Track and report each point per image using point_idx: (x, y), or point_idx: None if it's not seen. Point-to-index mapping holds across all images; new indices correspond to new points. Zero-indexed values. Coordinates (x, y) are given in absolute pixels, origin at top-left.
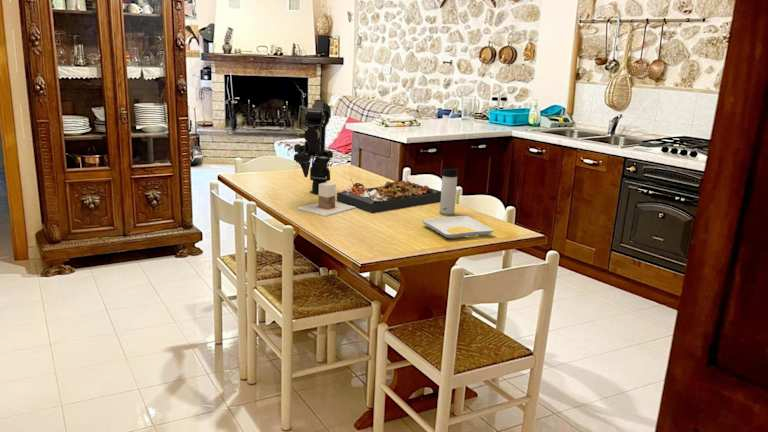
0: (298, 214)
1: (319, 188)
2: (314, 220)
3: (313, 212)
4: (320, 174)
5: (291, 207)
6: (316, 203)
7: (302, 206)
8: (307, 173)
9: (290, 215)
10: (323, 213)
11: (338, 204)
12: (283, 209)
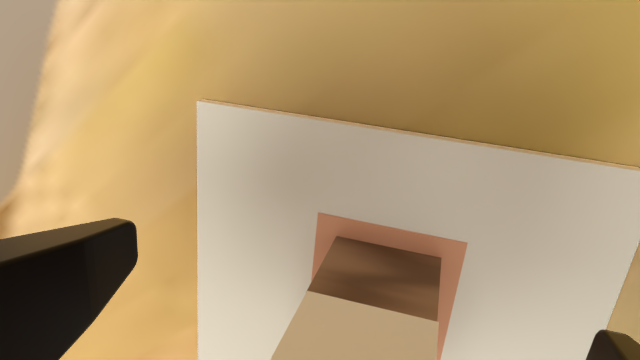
0: (118, 194)
1: (278, 353)
2: (103, 336)
3: (198, 272)
4: (588, 355)
5: (218, 23)
6: (445, 154)
7: (266, 113)
8: (58, 333)
9: (65, 165)
10: (221, 339)
11: (541, 331)
12: (127, 14)
